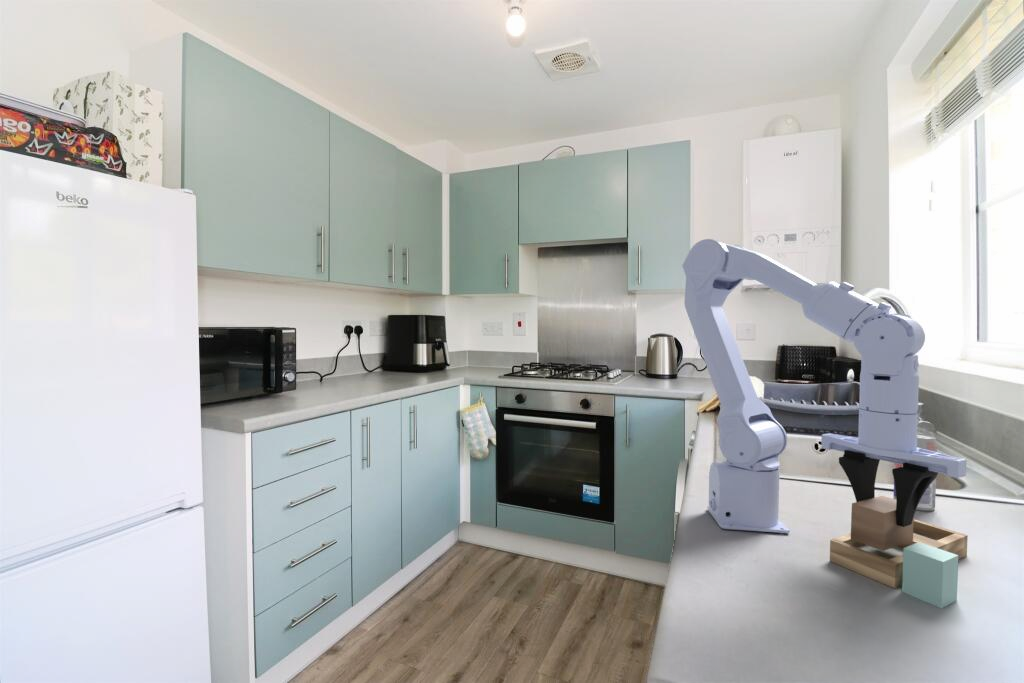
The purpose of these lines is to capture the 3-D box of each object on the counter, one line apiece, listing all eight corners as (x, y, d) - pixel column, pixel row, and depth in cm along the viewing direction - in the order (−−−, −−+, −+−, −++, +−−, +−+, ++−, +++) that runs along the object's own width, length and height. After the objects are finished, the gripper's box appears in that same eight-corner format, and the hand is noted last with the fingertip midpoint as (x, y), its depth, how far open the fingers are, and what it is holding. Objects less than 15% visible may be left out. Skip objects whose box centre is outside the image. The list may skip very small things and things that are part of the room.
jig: (894, 588, 53) (895, 565, 53) (829, 560, 59) (830, 539, 59) (966, 555, 61) (967, 535, 61) (903, 534, 67) (903, 515, 67)
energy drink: (893, 497, 83) (895, 430, 82) (933, 505, 79) (936, 435, 79) (893, 506, 78) (895, 435, 78) (936, 514, 75) (938, 440, 75)
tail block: (941, 608, 49) (943, 562, 49) (902, 591, 53) (903, 548, 52) (956, 600, 51) (958, 555, 51) (917, 584, 54) (919, 542, 54)
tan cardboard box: (883, 550, 55) (884, 513, 55) (850, 539, 58) (851, 503, 58) (913, 540, 58) (914, 504, 58) (880, 529, 61) (881, 495, 61)
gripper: (980, 418, 53) (976, 535, 54) (843, 400, 66) (840, 495, 67) (951, 422, 50) (947, 547, 50) (813, 403, 63) (810, 502, 63)
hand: (884, 518), depth 58 cm, fingers closed on tan cardboard box, 3 cm apart
